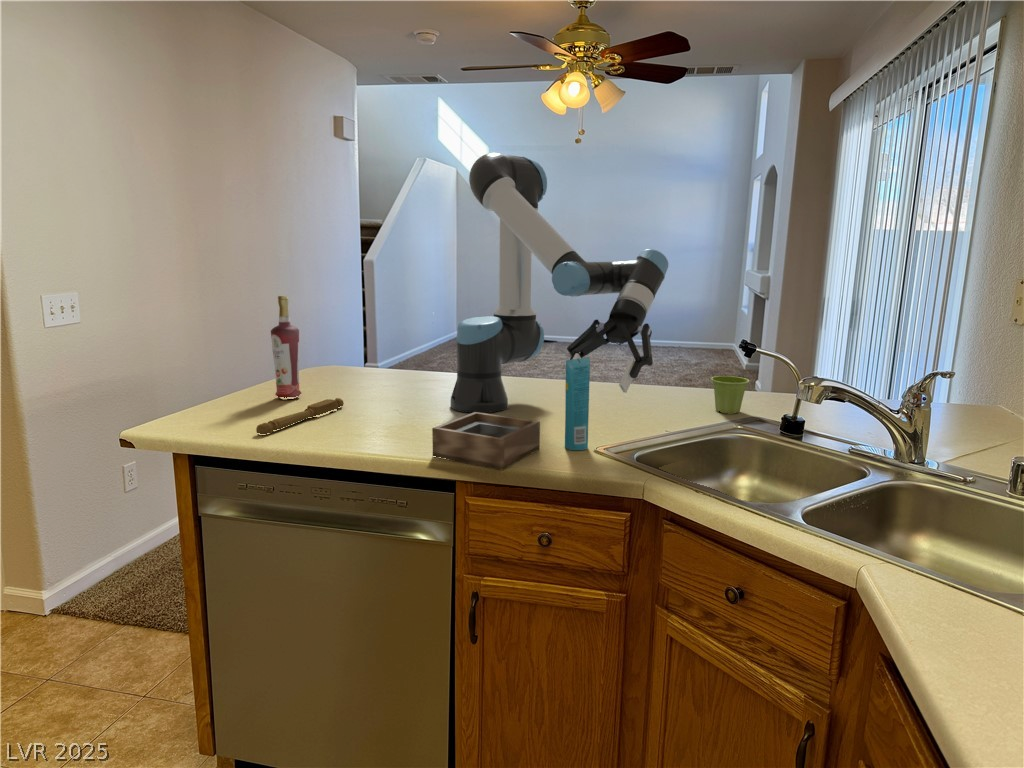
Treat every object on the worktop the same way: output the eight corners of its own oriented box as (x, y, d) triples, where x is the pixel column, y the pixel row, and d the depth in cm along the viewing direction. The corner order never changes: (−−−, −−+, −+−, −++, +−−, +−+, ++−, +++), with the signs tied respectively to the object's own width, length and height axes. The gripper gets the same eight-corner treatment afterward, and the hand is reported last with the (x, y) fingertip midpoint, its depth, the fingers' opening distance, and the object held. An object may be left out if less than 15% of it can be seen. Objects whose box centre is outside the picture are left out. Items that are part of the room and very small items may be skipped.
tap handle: (254, 423, 150) (335, 396, 177) (255, 436, 151) (336, 407, 178) (265, 424, 149) (345, 397, 176) (266, 438, 150) (346, 408, 177)
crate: (432, 456, 136) (432, 428, 135) (475, 438, 150) (475, 411, 149) (501, 470, 129) (501, 439, 128) (539, 449, 143) (540, 421, 141)
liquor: (308, 397, 188) (303, 296, 182) (286, 402, 182) (280, 297, 176) (290, 394, 192) (285, 294, 186) (268, 398, 186) (262, 296, 180)
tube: (576, 441, 148) (579, 355, 144) (595, 446, 145) (598, 357, 141) (556, 449, 143) (558, 359, 139) (575, 453, 140) (578, 361, 136)
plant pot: (748, 417, 172) (751, 383, 171) (710, 414, 174) (712, 381, 173) (744, 408, 181) (746, 376, 180) (707, 406, 183) (709, 375, 182)
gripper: (687, 322, 147) (653, 402, 138) (589, 315, 162) (552, 387, 154) (678, 299, 142) (641, 381, 133) (577, 294, 157) (539, 367, 148)
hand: (594, 384), depth 143 cm, fingers open, 13 cm apart
